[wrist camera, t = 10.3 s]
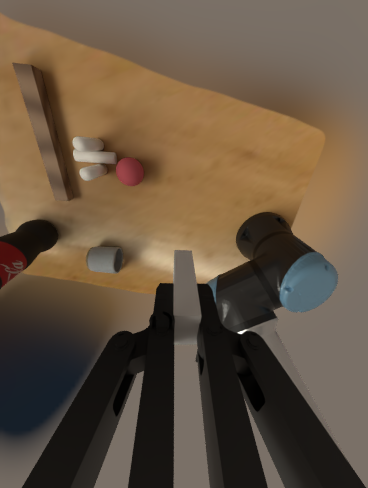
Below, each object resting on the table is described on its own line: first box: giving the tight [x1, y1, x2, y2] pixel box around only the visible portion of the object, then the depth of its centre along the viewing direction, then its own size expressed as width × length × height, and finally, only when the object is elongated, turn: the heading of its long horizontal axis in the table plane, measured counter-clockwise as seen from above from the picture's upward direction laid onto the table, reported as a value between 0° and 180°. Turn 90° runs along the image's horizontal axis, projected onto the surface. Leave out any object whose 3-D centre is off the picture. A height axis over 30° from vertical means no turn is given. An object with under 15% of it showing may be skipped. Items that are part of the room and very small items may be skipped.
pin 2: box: [80, 164, 108, 181], centre depth 37 cm, size 2×2×8 cm
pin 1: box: [73, 137, 104, 152], centre depth 34 cm, size 2×2×8 cm
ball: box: [116, 157, 144, 186], centre depth 38 cm, size 6×6×6 cm
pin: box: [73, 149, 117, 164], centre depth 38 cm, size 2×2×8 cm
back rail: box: [13, 63, 73, 201], centre depth 36 cm, size 24×3×2 cm, turn 176°
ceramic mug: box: [86, 246, 123, 273], centre depth 50 cm, size 11×8×8 cm
